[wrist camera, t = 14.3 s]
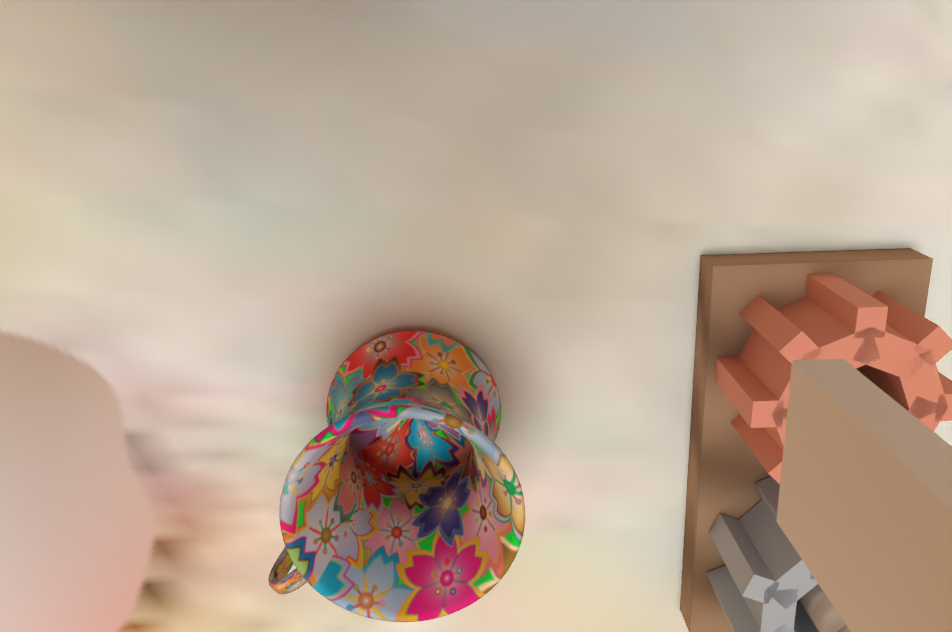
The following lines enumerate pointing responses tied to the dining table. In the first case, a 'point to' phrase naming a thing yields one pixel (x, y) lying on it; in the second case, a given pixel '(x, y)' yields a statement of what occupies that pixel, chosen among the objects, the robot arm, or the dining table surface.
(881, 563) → the robot arm
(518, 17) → the dining table surface
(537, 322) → the dining table surface
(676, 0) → the dining table surface
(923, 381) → the red gear
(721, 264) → the gear board
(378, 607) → the mug
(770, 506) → the gear
